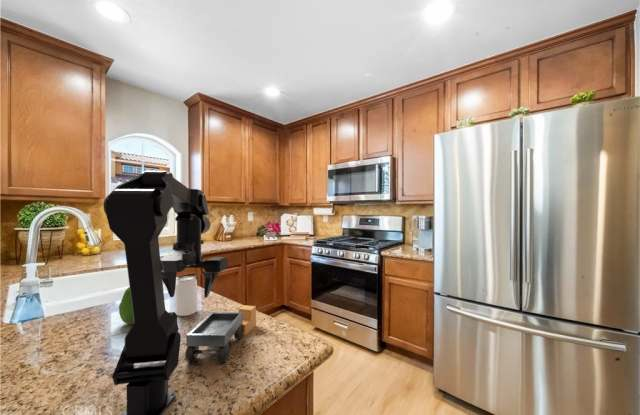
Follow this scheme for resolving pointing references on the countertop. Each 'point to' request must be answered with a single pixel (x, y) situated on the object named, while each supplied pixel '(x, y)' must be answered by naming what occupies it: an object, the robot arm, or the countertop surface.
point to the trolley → (214, 335)
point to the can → (186, 296)
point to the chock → (248, 318)
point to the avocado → (126, 308)
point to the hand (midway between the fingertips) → (189, 297)
